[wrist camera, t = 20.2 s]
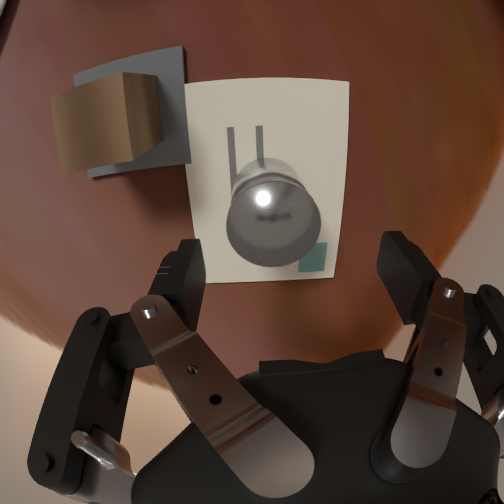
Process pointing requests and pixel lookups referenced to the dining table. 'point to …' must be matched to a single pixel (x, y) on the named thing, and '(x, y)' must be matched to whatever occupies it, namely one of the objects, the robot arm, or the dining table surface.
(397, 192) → the dining table surface
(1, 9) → the plated food
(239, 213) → the tin
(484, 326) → the robot arm
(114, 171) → the coaster
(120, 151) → the walnut block
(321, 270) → the envelope
